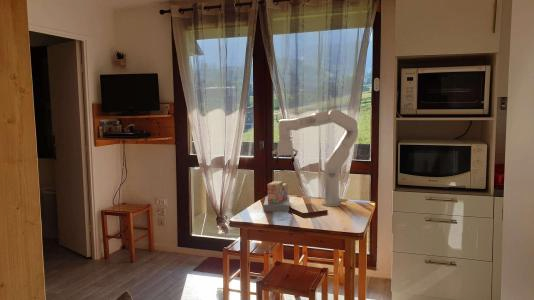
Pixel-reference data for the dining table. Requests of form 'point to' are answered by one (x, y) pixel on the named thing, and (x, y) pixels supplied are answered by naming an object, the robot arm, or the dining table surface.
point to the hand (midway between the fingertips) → (285, 163)
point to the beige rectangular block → (276, 191)
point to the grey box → (277, 205)
